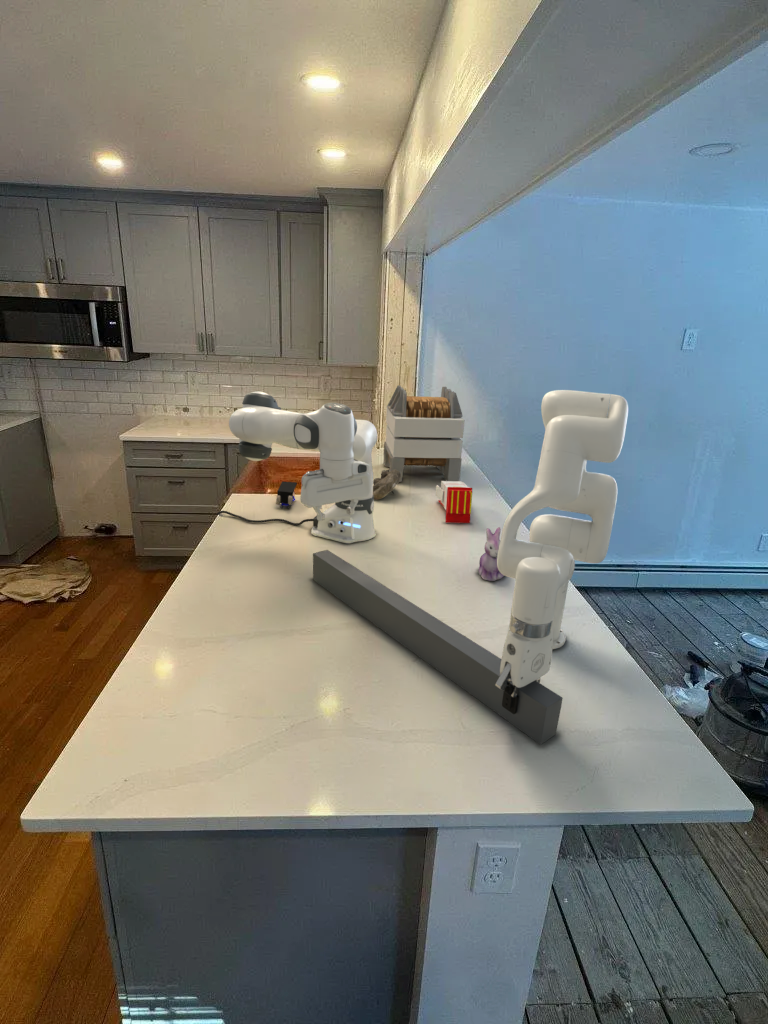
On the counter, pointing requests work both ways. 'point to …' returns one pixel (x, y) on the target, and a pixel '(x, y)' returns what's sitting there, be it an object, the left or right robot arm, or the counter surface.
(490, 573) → the figurine
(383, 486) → the fossil
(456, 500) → the toy
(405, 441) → the grey slatted crate stand
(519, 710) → the bar
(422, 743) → the counter surface
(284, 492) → the figurine character
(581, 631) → the counter surface
